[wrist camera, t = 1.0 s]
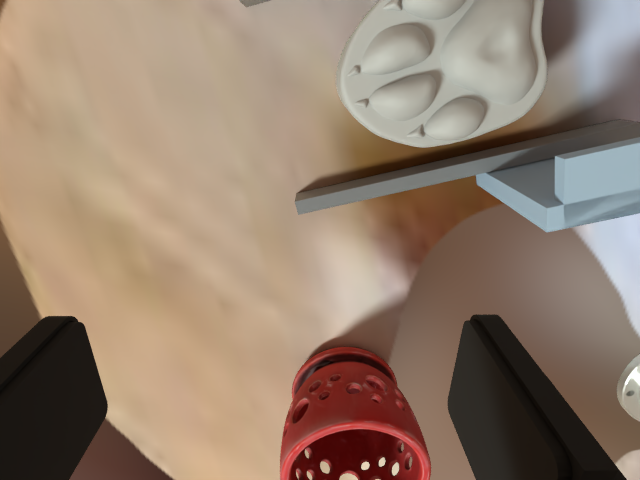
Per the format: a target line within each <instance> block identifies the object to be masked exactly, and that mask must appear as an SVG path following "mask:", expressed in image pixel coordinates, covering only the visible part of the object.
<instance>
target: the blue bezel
mask: <svg viewBox="0 0 640 480" xmlns="http://www.w3.org/2000/svg"><path fill="white" fill-rule="evenodd" d="M476 180H477V185H479V186H480V187H482V188H483V189H484V190H486V191H487V192H489V193H490V194H492V195H493V196H495V197H496V198H498V199H499V200H500V201H502V202H503V203H505V204H506V205H508V206H509V207H511V208H512V209H514V210H515V211H517V212H518V213H519V214H521V215H522V216H524V217H525V218H527V219H528V220H530V221H531V222H533V223H534V224H535V225H537V226H539V227H540V228H541V229H543V230H544V231H546V232H551V231H555V230H561V229H565V228H570V227H575V226H580V225H585V224H590V223H595V222H599V221H604V220H609V219H614V218H619V217H624V216H629V215H633V214H638V213H640V137H637V138H633V139H628V140H624V141H619V142H615V143H610V144H606V145H602V146H597V147H593V148H588V149H584V150H579V151H575V152H570V153H566V154H561V155H557V156H555V157H554V158H549V159H545V160H540V161H536V162H531V163H527V164H522V165H518V166H514V167H509V168H505V169H500V170H496V171H491V172H487V173H482V174H478V175H476Z"/></svg>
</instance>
